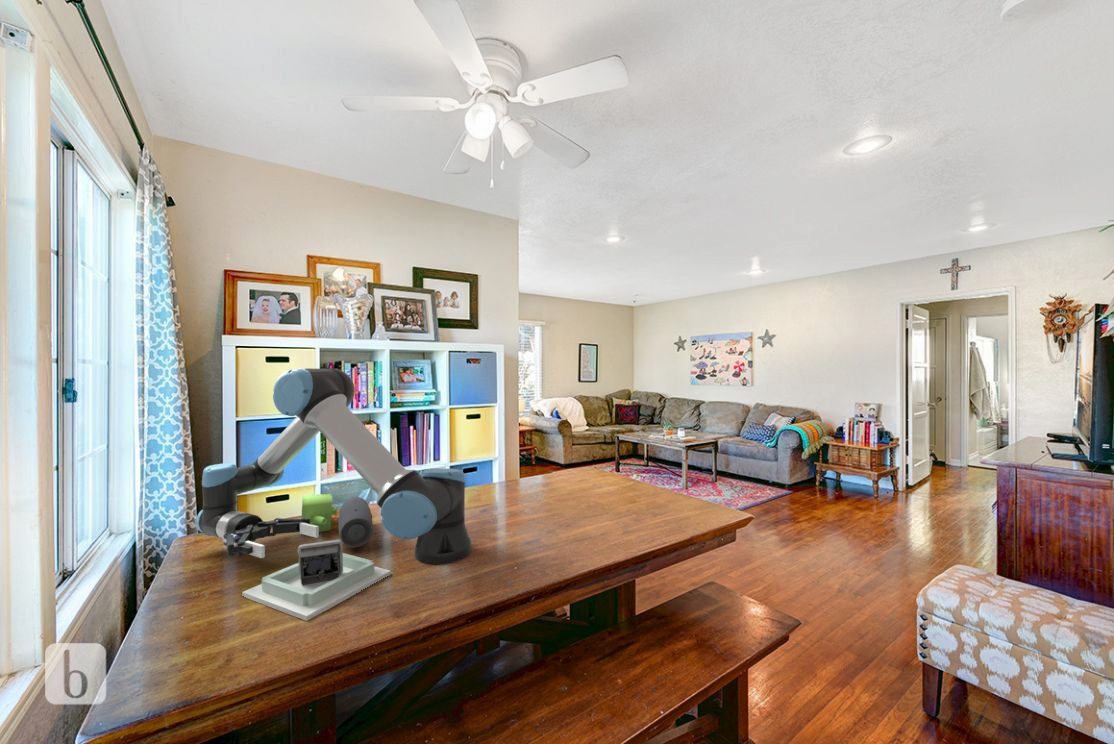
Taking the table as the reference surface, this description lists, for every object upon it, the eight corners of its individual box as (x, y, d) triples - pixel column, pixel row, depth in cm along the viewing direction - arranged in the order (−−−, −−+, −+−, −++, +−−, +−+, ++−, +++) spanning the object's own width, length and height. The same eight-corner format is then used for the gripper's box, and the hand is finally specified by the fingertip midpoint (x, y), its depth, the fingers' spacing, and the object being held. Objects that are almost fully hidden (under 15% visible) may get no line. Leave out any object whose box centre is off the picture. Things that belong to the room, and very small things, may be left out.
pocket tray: (390, 574, 109) (390, 560, 109) (306, 620, 89) (306, 603, 89) (330, 558, 118) (330, 545, 118) (242, 596, 98) (242, 580, 98)
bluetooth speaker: (374, 548, 124) (374, 513, 124) (338, 555, 120) (338, 518, 120) (370, 523, 145) (370, 493, 145) (338, 527, 141) (338, 496, 141)
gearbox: (337, 536, 135) (338, 505, 135) (300, 540, 130) (301, 508, 130) (334, 517, 151) (336, 489, 151) (301, 520, 146) (303, 492, 146)
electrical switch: (343, 571, 108) (342, 535, 107) (342, 583, 103) (341, 545, 102) (299, 579, 104) (298, 541, 104) (296, 591, 100) (295, 552, 99)
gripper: (287, 526, 128) (336, 538, 119) (184, 560, 106) (236, 578, 97) (286, 500, 128) (336, 511, 119) (184, 529, 106) (236, 544, 97)
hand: (291, 541), depth 108 cm, fingers open, 13 cm apart
